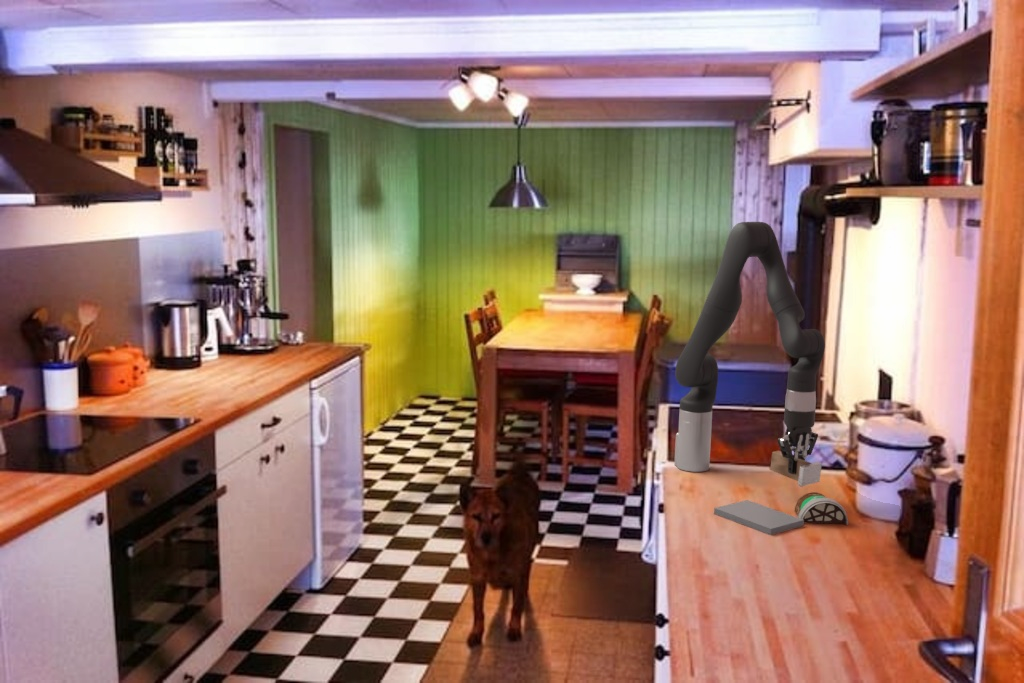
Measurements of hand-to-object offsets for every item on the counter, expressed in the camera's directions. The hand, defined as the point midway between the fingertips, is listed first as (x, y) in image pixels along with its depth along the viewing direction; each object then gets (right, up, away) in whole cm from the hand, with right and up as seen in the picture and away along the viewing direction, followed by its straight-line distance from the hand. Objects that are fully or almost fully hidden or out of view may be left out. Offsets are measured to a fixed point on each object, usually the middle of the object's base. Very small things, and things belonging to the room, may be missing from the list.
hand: (795, 472), depth 265 cm
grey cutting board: (-13, -10, -12) cm, 20 cm away
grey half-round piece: (+3, -6, -5) cm, 9 cm away
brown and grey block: (-1, -1, +2) cm, 2 cm away
